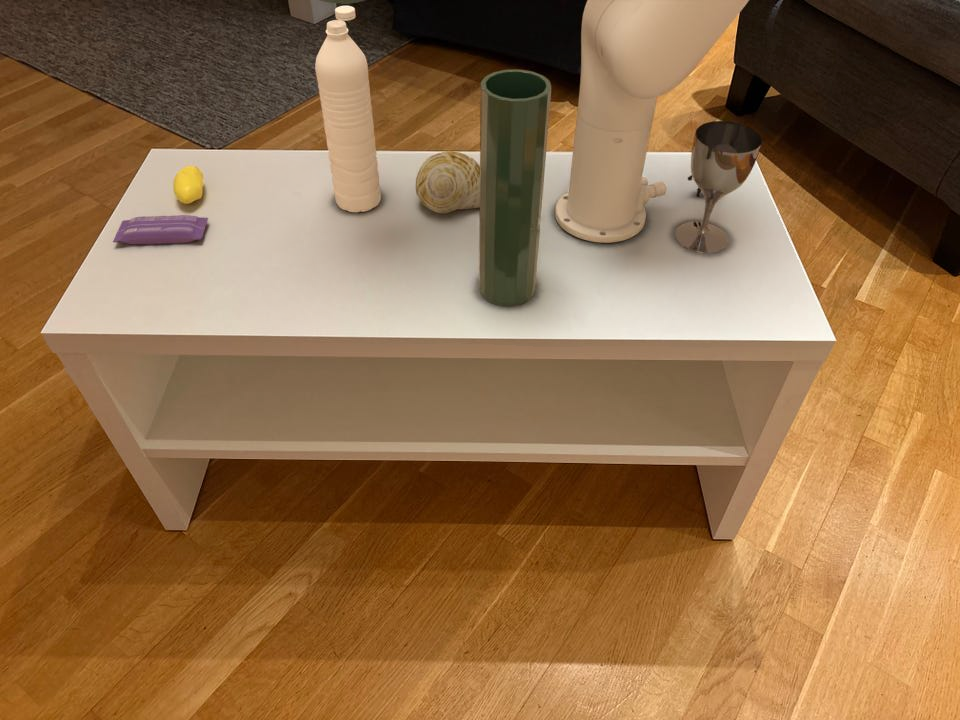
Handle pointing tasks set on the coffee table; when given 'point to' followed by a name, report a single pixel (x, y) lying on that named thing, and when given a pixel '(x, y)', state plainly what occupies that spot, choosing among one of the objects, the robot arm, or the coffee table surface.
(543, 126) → the green cylindrical vase
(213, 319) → the coffee table surface
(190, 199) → the lemon
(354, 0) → the lid
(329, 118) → the water bottle
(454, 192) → the seashell
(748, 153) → the wine glass
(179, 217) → the snack package
